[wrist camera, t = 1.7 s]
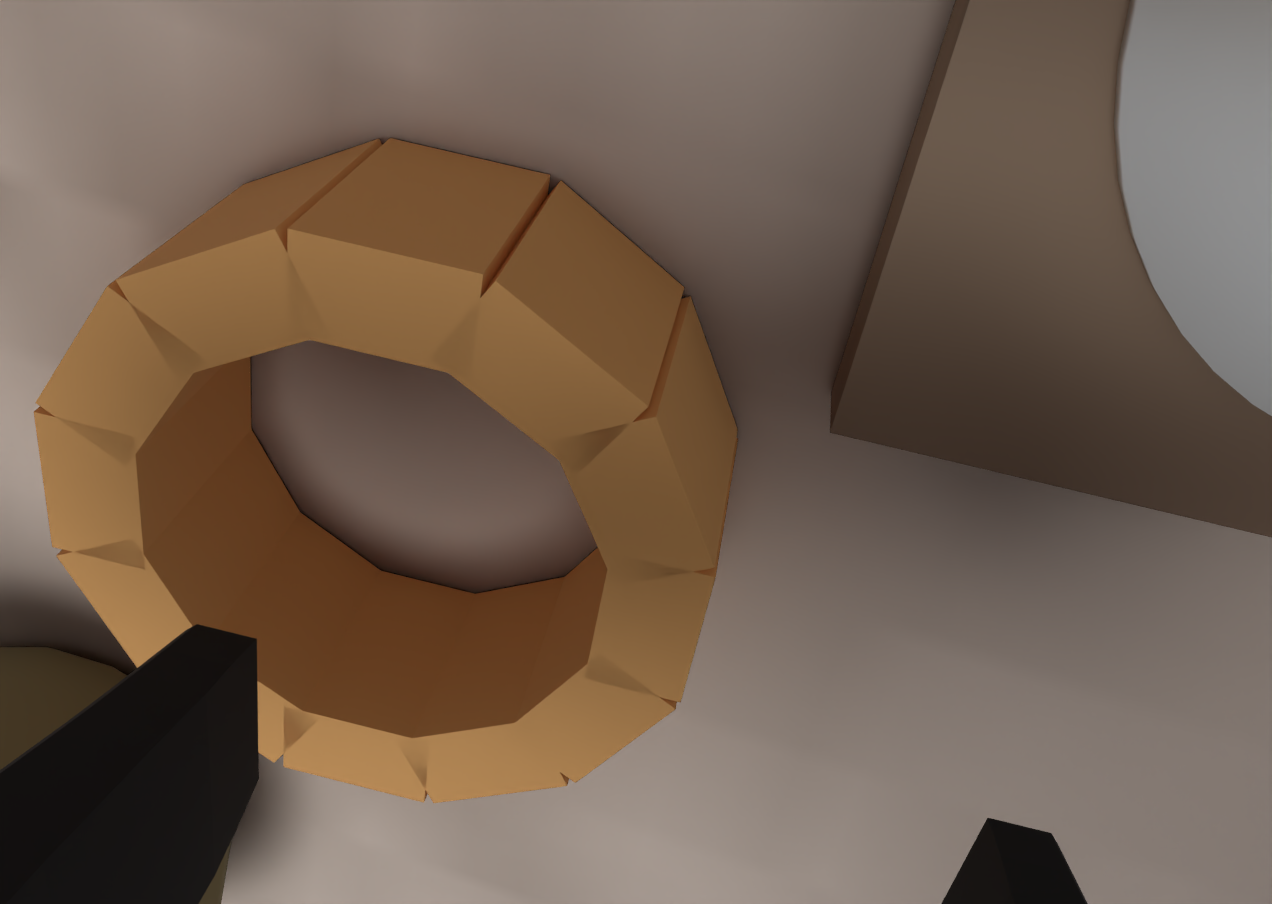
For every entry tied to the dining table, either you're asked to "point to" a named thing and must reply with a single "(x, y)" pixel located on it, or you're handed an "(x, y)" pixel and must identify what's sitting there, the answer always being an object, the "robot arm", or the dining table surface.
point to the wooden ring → (325, 567)
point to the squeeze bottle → (56, 707)
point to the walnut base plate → (1083, 258)
